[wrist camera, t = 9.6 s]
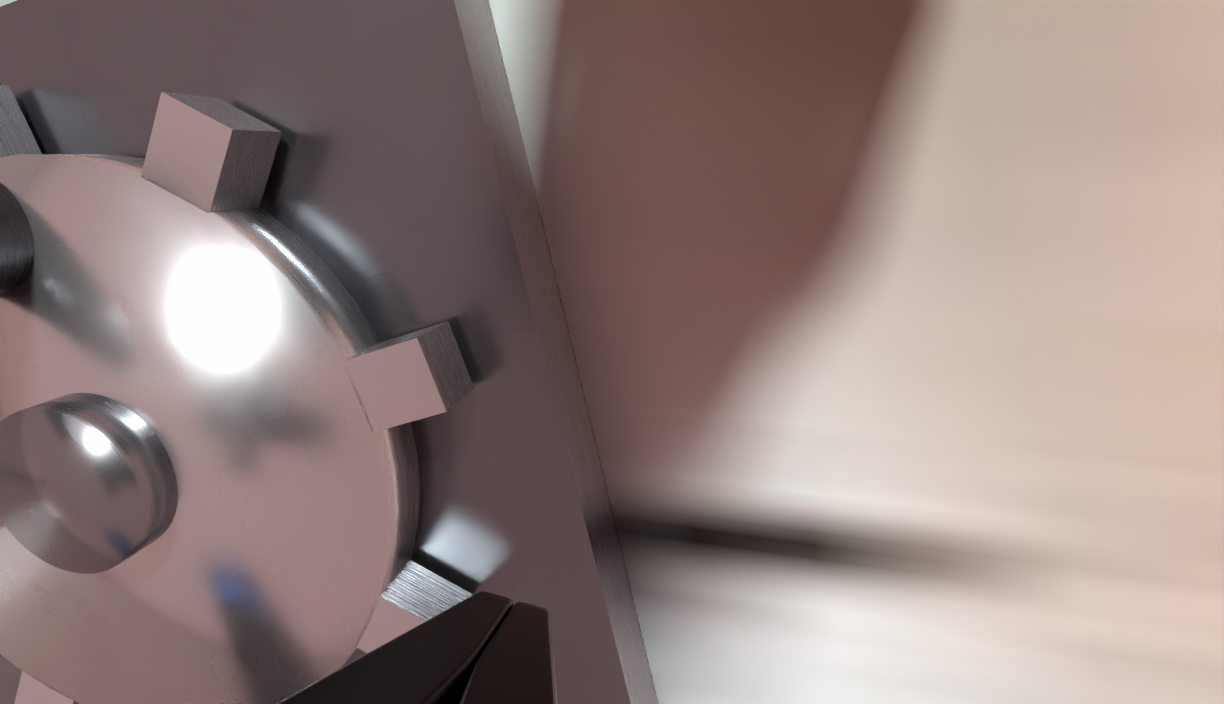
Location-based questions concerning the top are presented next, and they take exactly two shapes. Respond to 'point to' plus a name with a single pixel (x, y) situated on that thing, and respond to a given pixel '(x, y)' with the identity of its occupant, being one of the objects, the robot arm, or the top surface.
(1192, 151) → the top surface
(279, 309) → the sprocket
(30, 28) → the index base
